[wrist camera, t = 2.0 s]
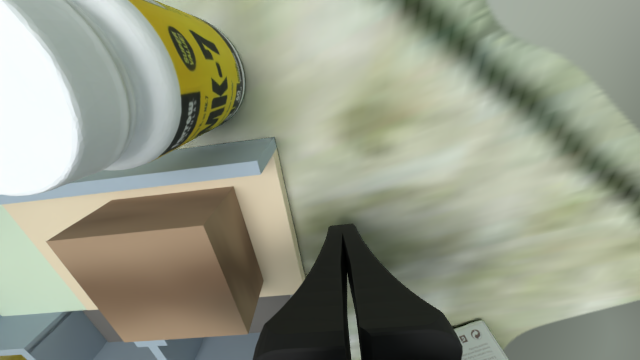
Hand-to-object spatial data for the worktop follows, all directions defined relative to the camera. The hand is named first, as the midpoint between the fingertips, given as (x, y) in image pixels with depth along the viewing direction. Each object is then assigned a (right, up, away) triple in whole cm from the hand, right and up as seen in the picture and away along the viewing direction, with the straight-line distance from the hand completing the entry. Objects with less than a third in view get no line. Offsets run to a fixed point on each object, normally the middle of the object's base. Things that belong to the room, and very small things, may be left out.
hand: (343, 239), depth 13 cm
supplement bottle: (-7, +8, -1) cm, 11 cm away
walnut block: (-9, -1, +2) cm, 9 cm away
